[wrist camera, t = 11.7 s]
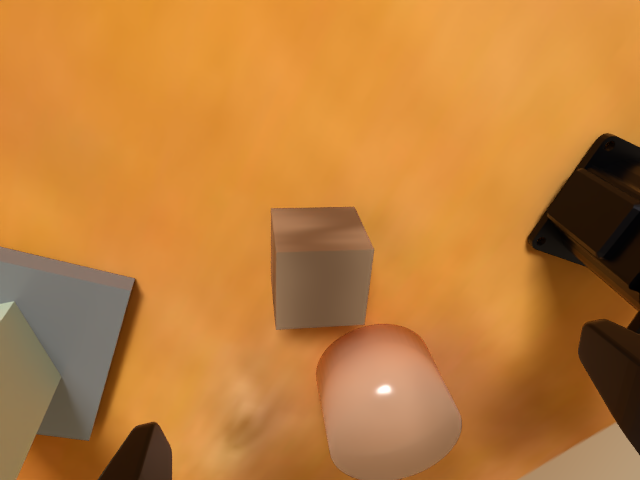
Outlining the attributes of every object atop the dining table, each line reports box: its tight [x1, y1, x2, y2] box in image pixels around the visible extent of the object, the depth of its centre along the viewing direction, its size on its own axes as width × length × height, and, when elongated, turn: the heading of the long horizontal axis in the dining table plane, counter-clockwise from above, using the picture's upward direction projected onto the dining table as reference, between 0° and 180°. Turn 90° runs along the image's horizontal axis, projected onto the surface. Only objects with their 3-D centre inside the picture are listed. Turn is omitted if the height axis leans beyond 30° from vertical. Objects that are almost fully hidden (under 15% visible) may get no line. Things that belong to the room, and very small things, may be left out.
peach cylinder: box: [316, 324, 462, 480], centre depth 26 cm, size 7×7×5 cm
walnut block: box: [271, 207, 374, 330], centre depth 21 cm, size 4×4×4 cm
